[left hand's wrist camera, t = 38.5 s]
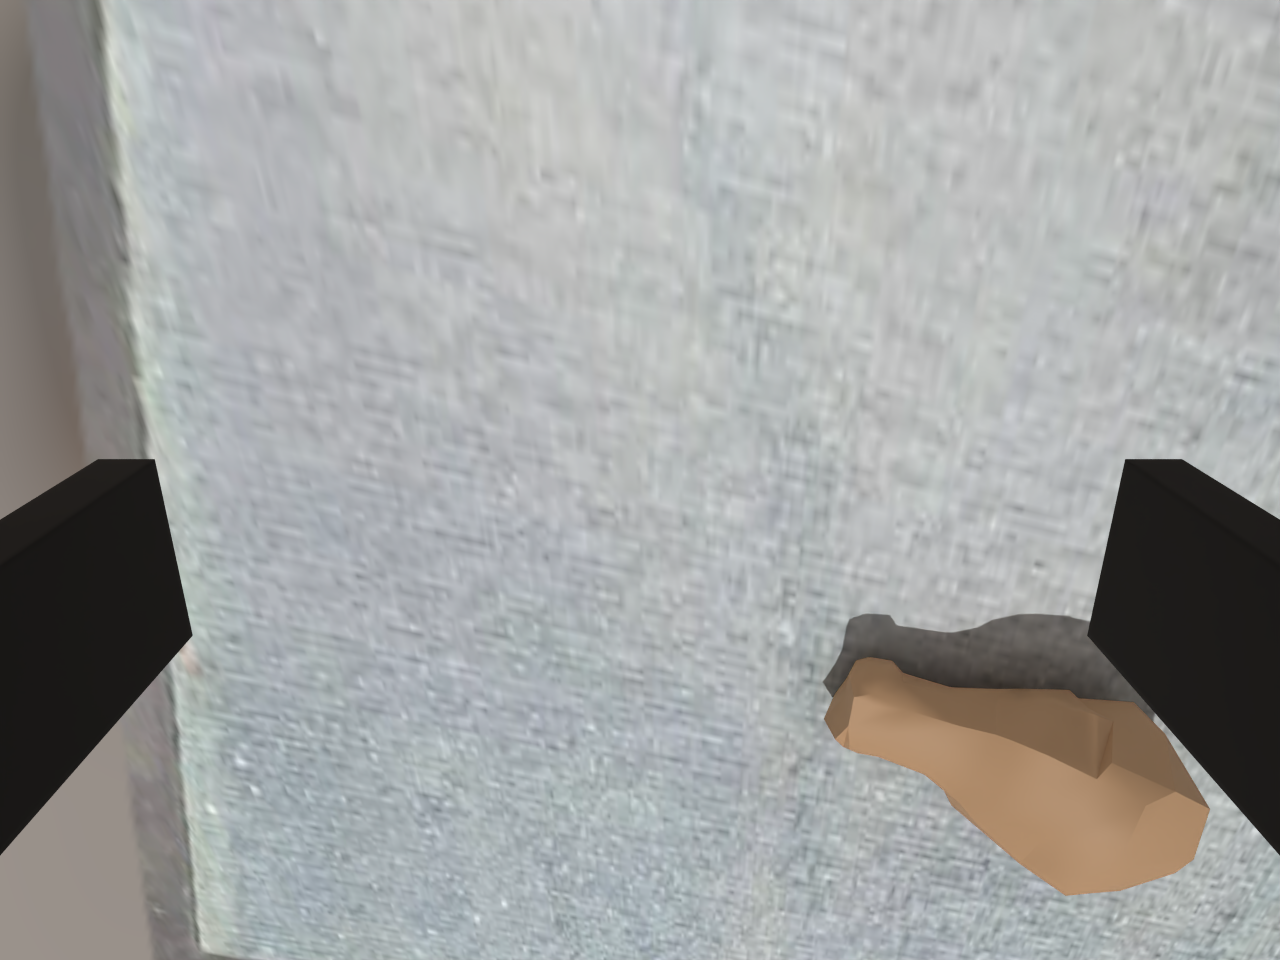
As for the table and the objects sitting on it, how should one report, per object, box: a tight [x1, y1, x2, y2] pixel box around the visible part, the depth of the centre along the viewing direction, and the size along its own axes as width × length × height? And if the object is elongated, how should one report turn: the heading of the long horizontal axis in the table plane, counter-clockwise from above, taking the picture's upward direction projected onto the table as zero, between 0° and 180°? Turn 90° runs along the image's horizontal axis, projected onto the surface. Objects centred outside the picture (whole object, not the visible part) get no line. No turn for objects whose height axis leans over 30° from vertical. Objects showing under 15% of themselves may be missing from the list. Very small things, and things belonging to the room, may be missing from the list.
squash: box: [824, 657, 1210, 896], centre depth 49 cm, size 11×20×9 cm, turn 74°
